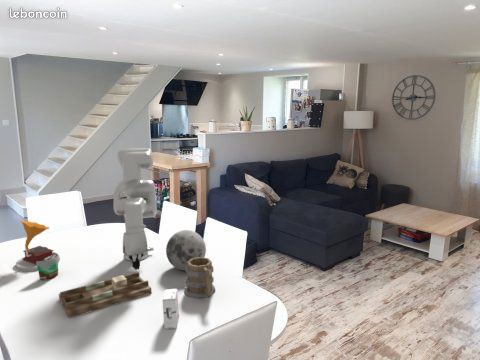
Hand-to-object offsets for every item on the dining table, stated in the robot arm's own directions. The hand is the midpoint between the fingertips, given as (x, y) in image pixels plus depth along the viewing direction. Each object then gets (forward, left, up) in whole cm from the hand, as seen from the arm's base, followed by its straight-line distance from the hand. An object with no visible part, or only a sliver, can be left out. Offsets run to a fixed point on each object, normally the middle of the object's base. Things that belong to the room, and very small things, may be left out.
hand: (136, 268), depth 165 cm
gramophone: (+32, -58, -10) cm, 67 cm away
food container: (+29, -36, -10) cm, 47 cm away
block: (+8, -1, -7) cm, 10 cm away
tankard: (-21, +23, -10) cm, 32 cm away
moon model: (-28, -6, -10) cm, 30 cm away
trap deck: (+14, -1, -9) cm, 17 cm away
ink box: (0, +35, -10) cm, 36 cm away
